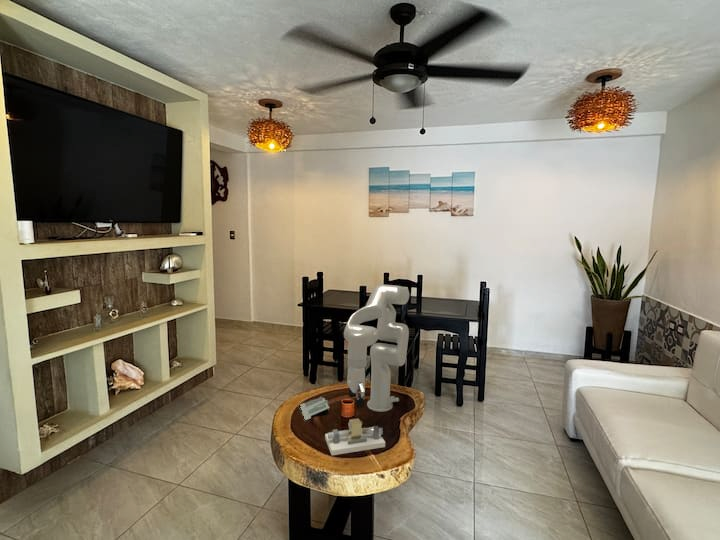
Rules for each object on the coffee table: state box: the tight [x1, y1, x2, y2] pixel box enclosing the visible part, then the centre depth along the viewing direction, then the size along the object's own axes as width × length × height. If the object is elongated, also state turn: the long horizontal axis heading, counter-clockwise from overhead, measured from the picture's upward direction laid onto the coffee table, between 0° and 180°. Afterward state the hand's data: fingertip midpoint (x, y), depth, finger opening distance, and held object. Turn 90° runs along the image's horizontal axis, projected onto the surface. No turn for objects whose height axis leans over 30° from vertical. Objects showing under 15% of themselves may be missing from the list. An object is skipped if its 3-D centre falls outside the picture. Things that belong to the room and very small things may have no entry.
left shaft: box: [361, 425, 384, 439], centre depth 149 cm, size 8×4×4 cm, turn 92°
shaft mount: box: [324, 426, 386, 456], centre depth 148 cm, size 22×12×6 cm, turn 107°
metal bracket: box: [299, 396, 331, 421], centre depth 173 cm, size 14×6×15 cm
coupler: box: [347, 418, 363, 440], centre depth 148 cm, size 6×4×7 cm
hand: (356, 402), depth 147 cm, fingers open, 9 cm apart
